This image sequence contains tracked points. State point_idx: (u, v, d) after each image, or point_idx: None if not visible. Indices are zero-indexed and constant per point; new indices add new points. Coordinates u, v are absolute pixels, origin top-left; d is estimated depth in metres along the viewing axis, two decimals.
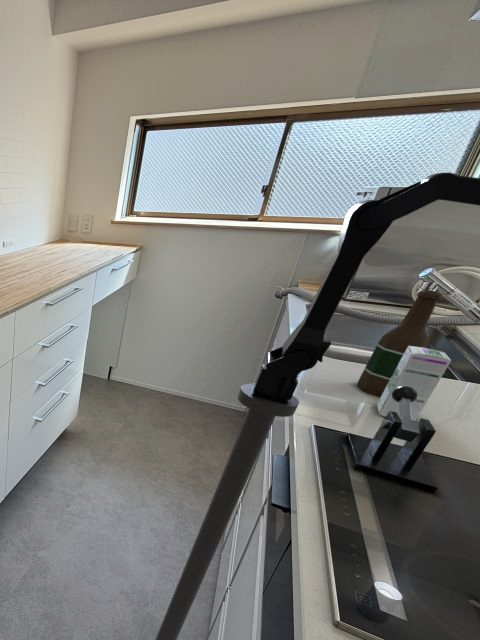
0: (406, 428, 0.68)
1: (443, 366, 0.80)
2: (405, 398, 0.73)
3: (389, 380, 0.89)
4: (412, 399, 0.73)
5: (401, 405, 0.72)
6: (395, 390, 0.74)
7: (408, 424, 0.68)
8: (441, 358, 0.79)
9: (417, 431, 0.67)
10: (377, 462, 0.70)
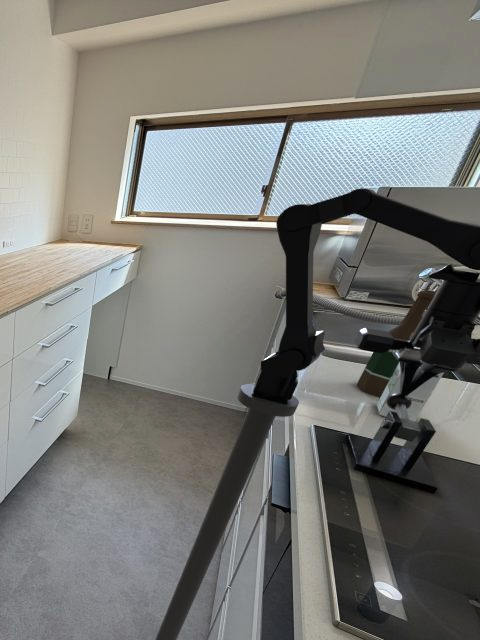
0: (406, 426, 0.68)
1: None
2: (400, 404, 0.74)
3: (389, 380, 0.89)
4: (407, 405, 0.74)
5: (398, 409, 0.73)
6: (390, 397, 0.75)
7: (408, 423, 0.68)
8: None
9: (418, 429, 0.67)
10: (377, 462, 0.70)
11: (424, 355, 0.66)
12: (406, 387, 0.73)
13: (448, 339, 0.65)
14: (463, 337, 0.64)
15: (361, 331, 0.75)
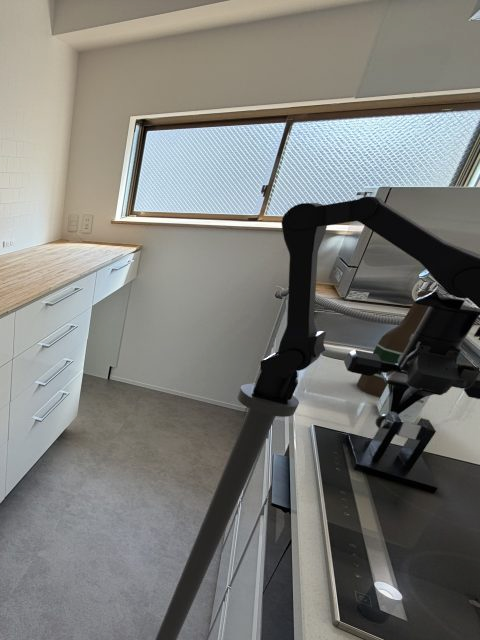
0: (407, 422, 0.68)
1: None
2: None
3: None
4: None
5: None
6: (378, 417, 0.77)
7: (407, 422, 0.69)
8: None
9: (418, 425, 0.67)
10: (377, 462, 0.70)
11: (411, 379, 0.68)
12: (394, 408, 0.75)
13: (434, 364, 0.66)
14: (448, 362, 0.66)
15: (350, 353, 0.77)
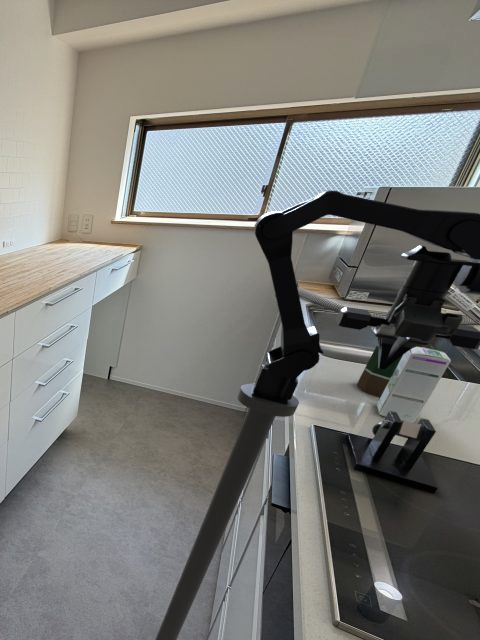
0: (407, 421, 0.68)
1: (443, 366, 0.80)
2: None
3: (389, 380, 0.89)
4: None
5: None
6: (375, 425, 0.77)
7: None
8: (441, 358, 0.79)
9: (418, 424, 0.68)
10: (377, 462, 0.70)
11: (398, 329, 0.71)
12: (383, 362, 0.78)
13: (419, 314, 0.70)
14: (433, 312, 0.70)
15: (342, 310, 0.80)
